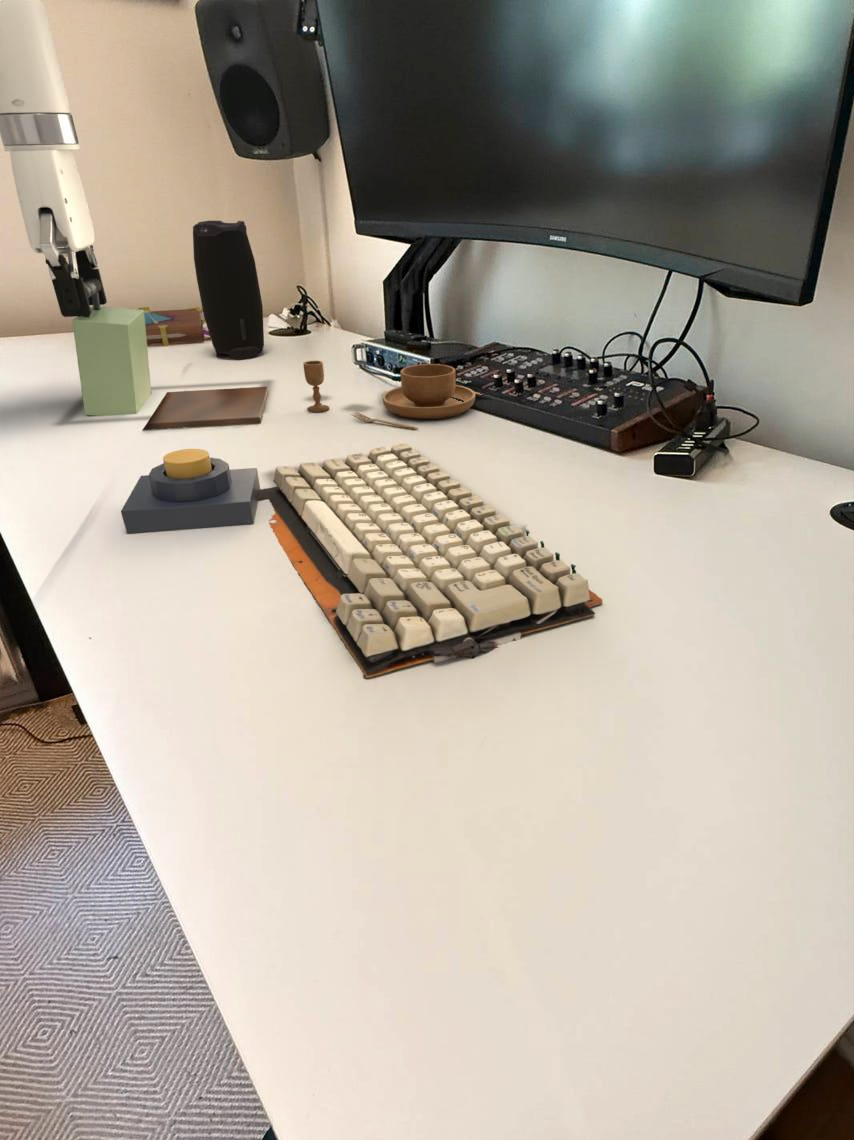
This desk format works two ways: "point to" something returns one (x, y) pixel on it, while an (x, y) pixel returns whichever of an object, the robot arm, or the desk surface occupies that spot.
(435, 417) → the place setting
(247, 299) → the portable speaker
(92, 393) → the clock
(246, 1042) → the desk surface
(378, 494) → the mechanical keyboard
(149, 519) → the grey mounting base
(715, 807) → the desk surface
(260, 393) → the brown wooden board
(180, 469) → the bell button
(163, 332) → the book
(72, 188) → the robot arm
